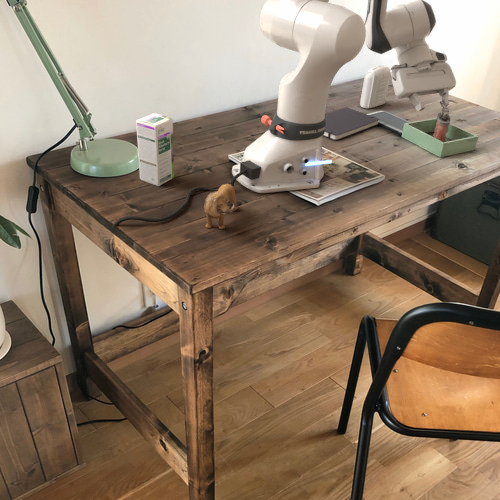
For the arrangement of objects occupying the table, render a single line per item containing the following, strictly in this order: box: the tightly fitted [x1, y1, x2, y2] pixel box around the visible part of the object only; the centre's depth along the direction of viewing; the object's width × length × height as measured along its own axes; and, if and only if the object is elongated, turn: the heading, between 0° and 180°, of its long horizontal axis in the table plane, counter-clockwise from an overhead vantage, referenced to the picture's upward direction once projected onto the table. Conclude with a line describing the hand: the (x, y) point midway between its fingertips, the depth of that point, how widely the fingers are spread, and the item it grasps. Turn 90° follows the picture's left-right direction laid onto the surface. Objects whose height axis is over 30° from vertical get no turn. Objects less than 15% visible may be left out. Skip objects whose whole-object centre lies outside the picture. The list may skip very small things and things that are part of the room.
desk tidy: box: [401, 117, 479, 158], centre depth 160 cm, size 13×15×4 cm
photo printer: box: [359, 65, 392, 110], centre depth 181 cm, size 10×4×12 cm, turn 134°
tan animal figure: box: [203, 183, 238, 230], centre depth 116 cm, size 15×5×9 cm, turn 171°
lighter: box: [431, 106, 451, 142], centre depth 158 cm, size 8×3×10 cm, turn 168°
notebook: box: [323, 106, 380, 141], centre depth 167 cm, size 13×2×21 cm
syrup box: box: [135, 112, 175, 187], centre depth 128 cm, size 6×6×14 cm
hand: (433, 108), depth 159 cm, fingers open, 8 cm apart
